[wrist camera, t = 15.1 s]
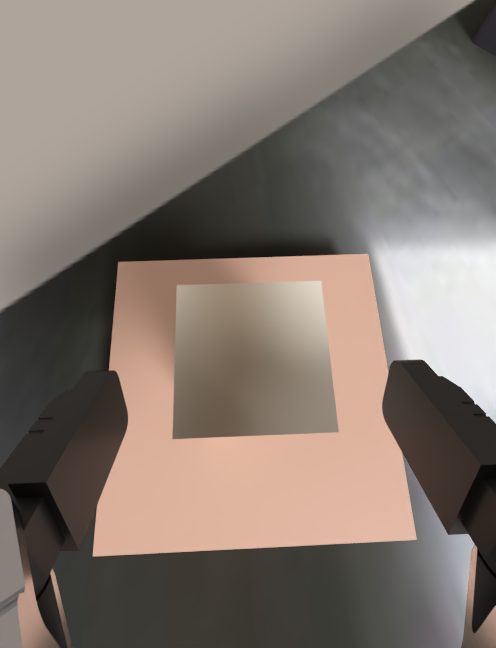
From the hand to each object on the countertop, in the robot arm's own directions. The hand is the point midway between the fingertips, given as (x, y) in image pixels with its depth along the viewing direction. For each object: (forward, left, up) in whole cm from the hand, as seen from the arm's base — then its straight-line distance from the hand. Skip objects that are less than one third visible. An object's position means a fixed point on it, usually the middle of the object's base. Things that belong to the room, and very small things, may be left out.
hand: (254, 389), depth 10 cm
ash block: (0, -1, -9) cm, 9 cm away
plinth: (0, -1, -12) cm, 12 cm away
